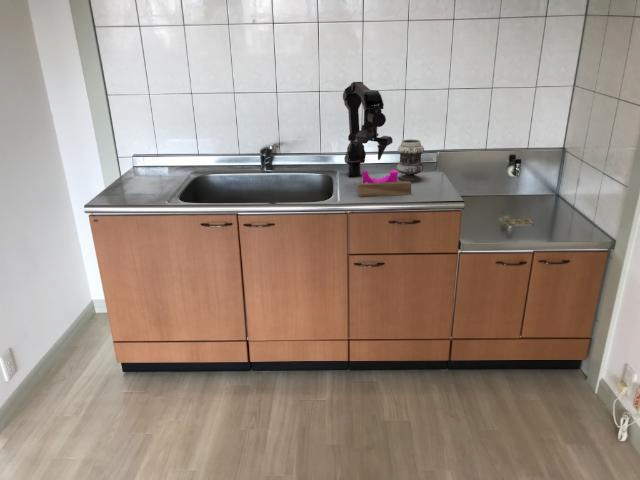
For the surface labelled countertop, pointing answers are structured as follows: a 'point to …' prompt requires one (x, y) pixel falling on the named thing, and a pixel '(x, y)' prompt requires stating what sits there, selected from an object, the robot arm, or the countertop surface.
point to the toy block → (389, 178)
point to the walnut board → (384, 189)
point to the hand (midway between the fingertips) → (369, 158)
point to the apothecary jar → (410, 159)
